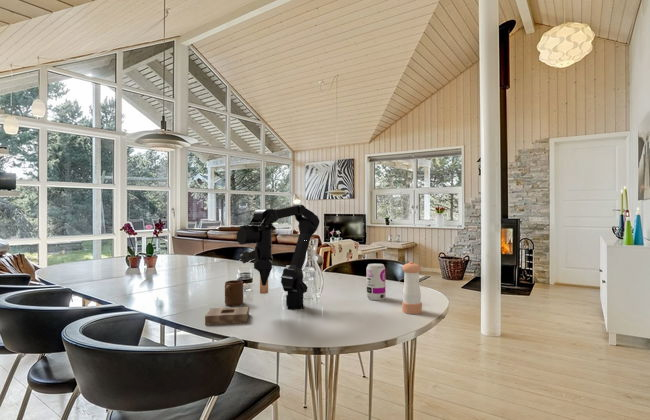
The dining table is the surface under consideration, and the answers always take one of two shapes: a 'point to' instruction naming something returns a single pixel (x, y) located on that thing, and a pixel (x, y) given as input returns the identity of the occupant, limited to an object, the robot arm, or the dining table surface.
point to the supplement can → (376, 282)
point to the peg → (263, 287)
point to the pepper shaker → (411, 289)
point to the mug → (234, 293)
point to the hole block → (227, 315)
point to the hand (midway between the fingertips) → (264, 284)
